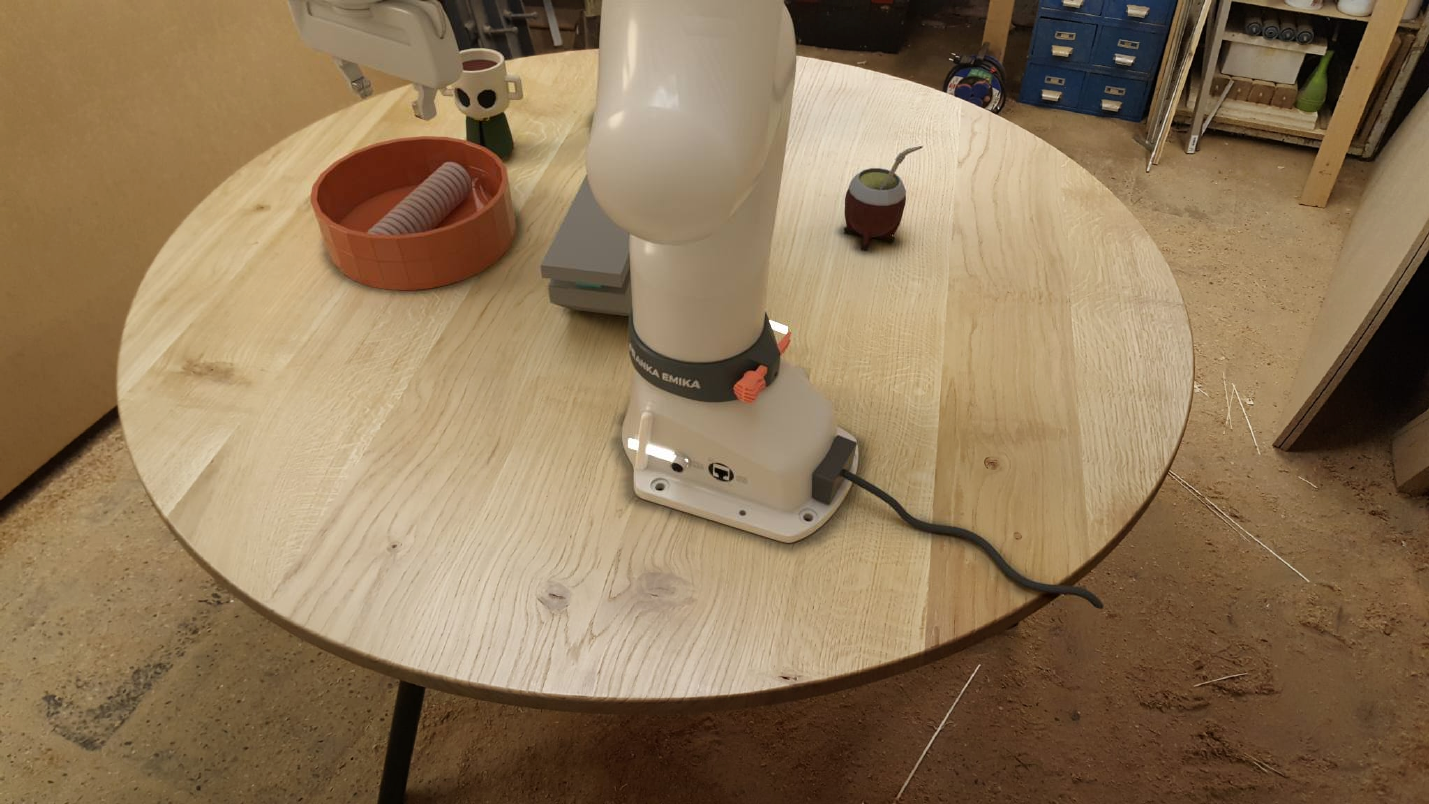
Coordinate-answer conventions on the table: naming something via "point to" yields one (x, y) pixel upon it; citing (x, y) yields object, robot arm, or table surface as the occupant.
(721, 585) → the table surface
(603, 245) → the sharpening stone
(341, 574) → the table surface
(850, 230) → the mate gourd
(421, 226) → the coil
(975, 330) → the table surface
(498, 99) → the character mug
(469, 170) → the pot
